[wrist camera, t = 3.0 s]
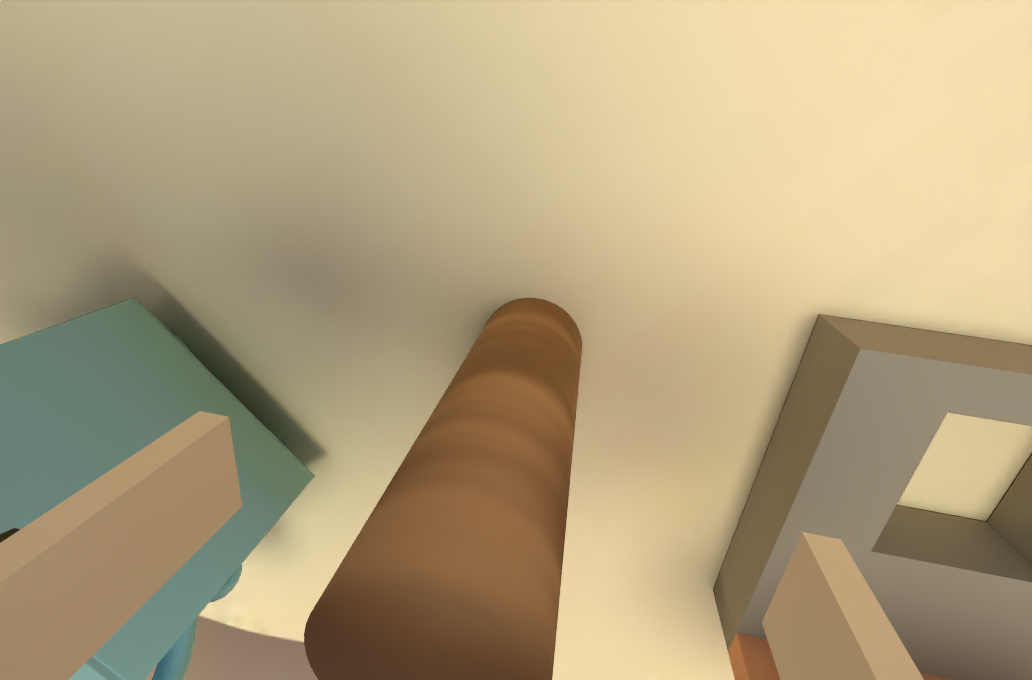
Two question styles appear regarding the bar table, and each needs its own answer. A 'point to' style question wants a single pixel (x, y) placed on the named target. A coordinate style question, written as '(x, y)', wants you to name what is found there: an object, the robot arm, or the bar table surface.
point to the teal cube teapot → (116, 437)
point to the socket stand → (891, 499)
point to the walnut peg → (467, 523)
